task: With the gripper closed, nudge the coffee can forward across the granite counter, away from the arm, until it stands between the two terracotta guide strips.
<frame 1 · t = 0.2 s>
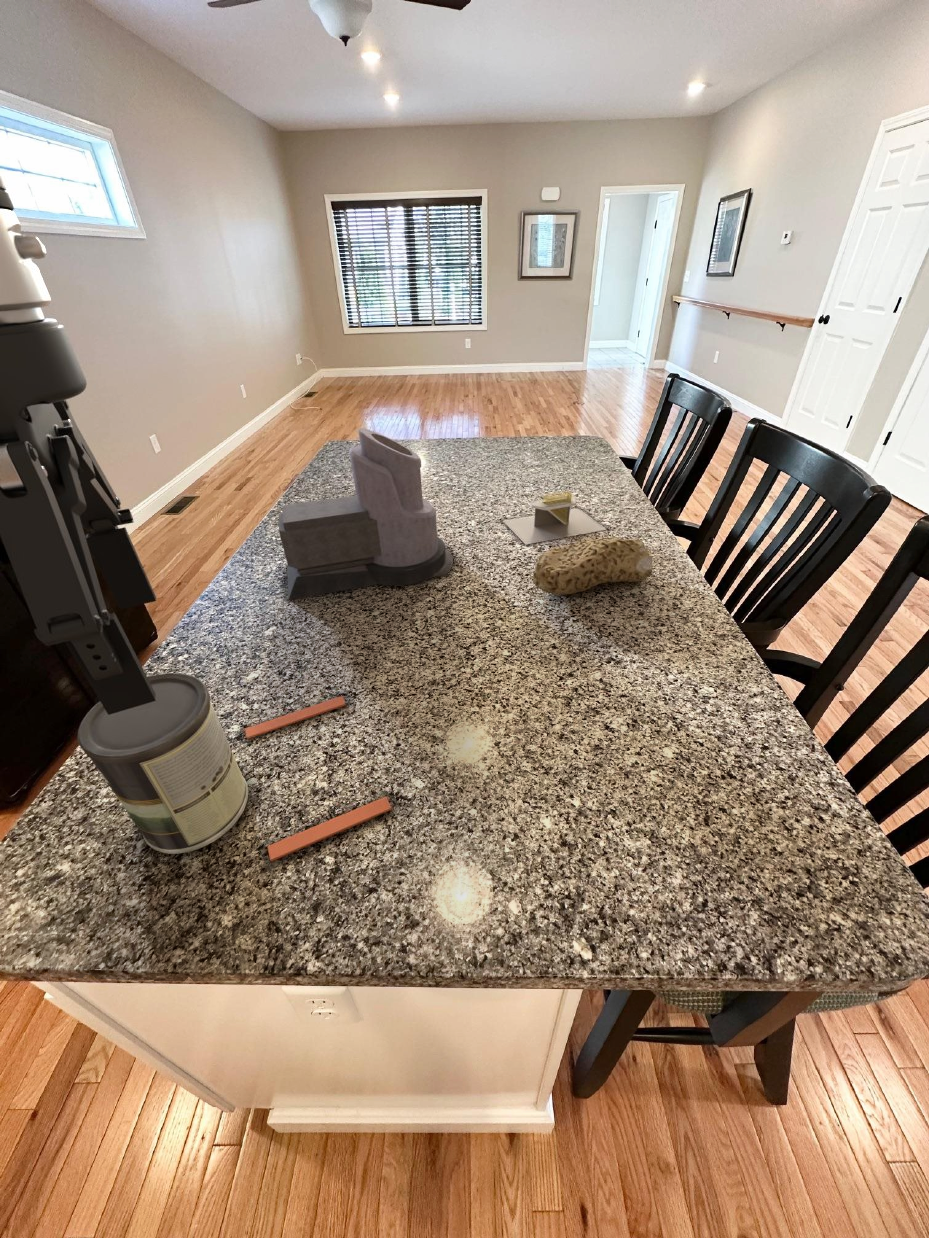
hand: (136, 647, 38), 23 cm above the countertop, tool pointing down, fingers open, 13 cm apart
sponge: (588, 583, 88), on the countertop
coffee can: (198, 809, 53), on the countertop
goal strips: (312, 766, 57), on the countertop
machine: (372, 569, 94), on the countertop
platform: (553, 526, 107), on the countertop
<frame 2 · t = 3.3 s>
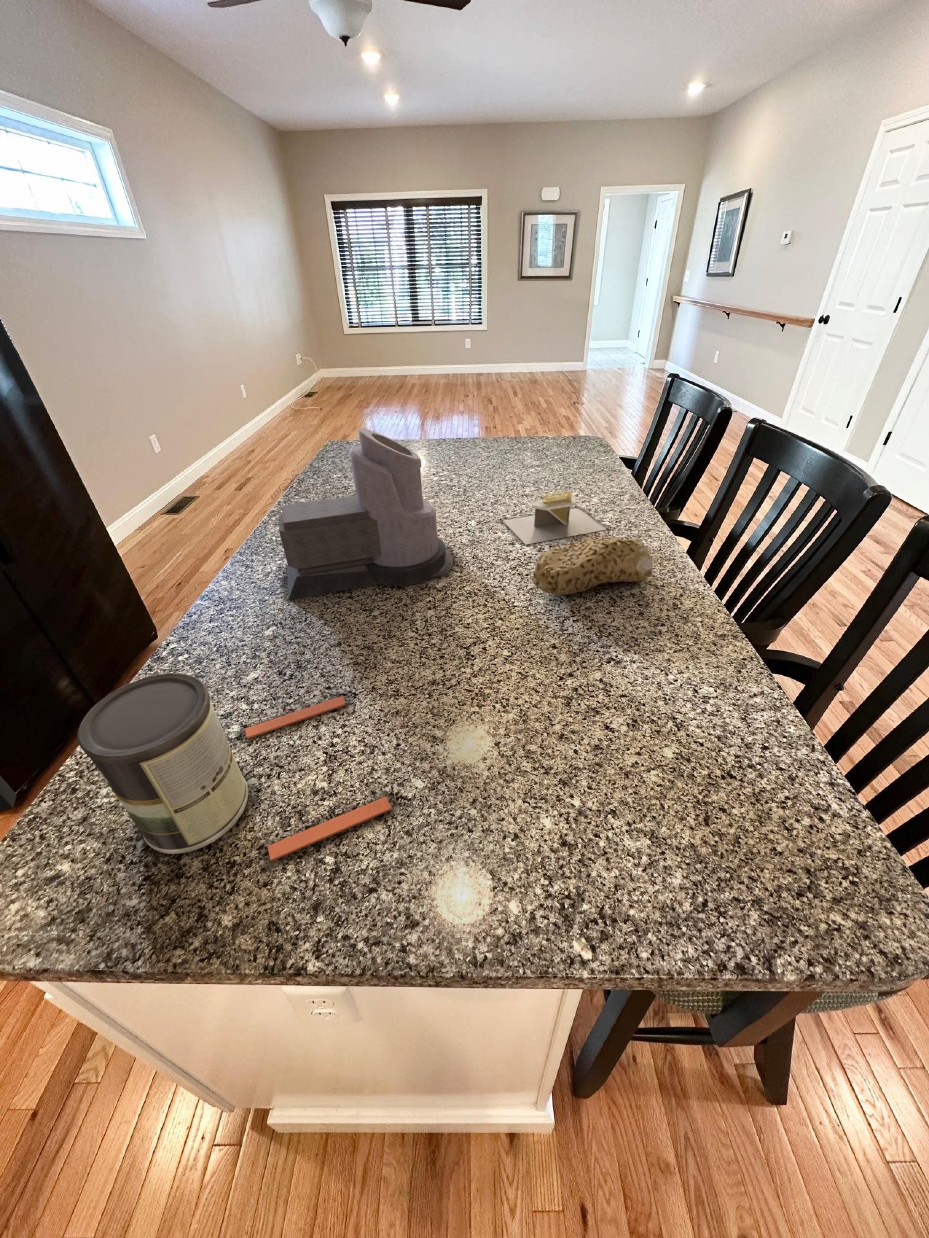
nothing on the countertop moved.
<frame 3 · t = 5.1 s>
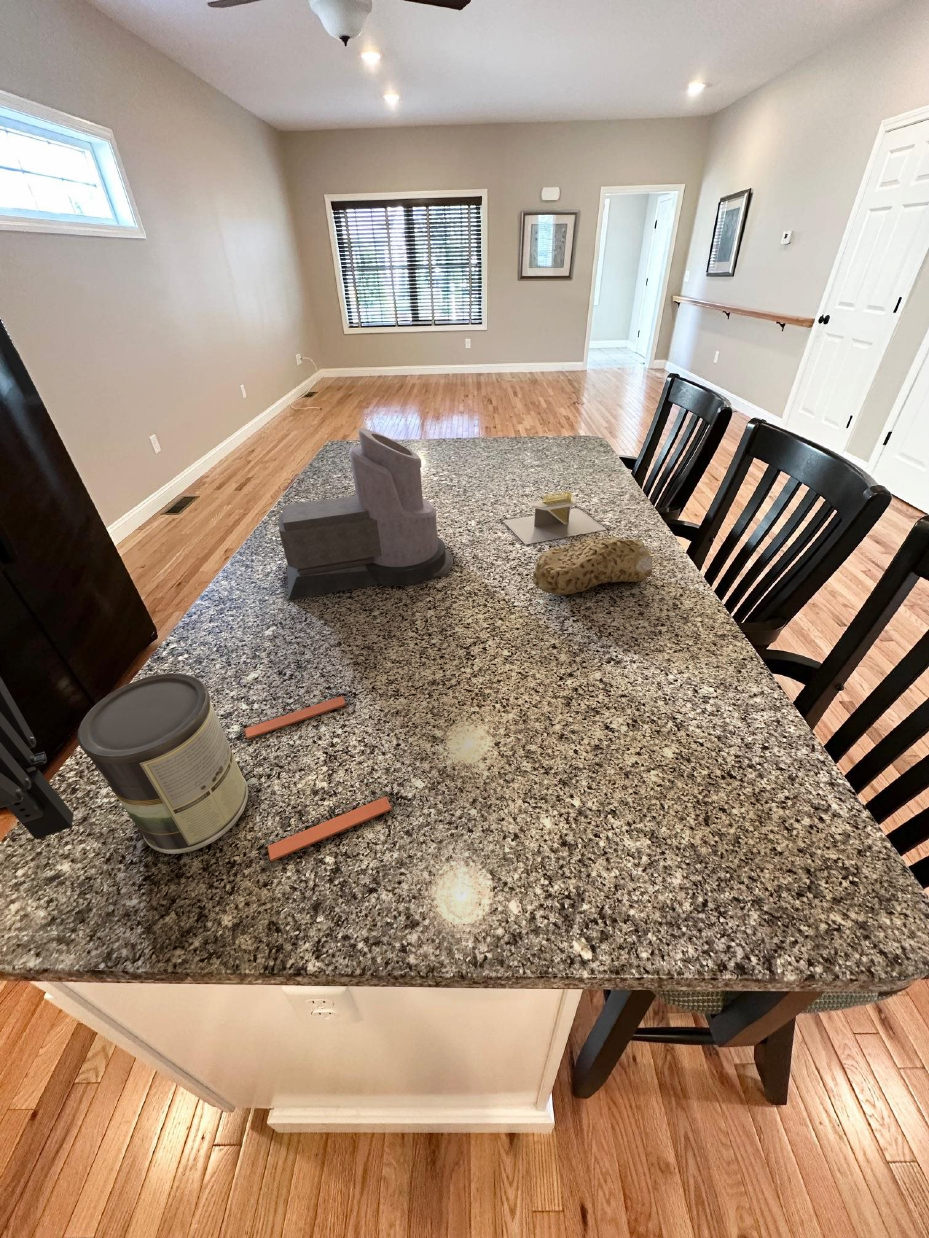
hand: (55, 826, 47), 5 cm above the countertop, tool pointing down, fingers closed
nothing on the countertop moved.
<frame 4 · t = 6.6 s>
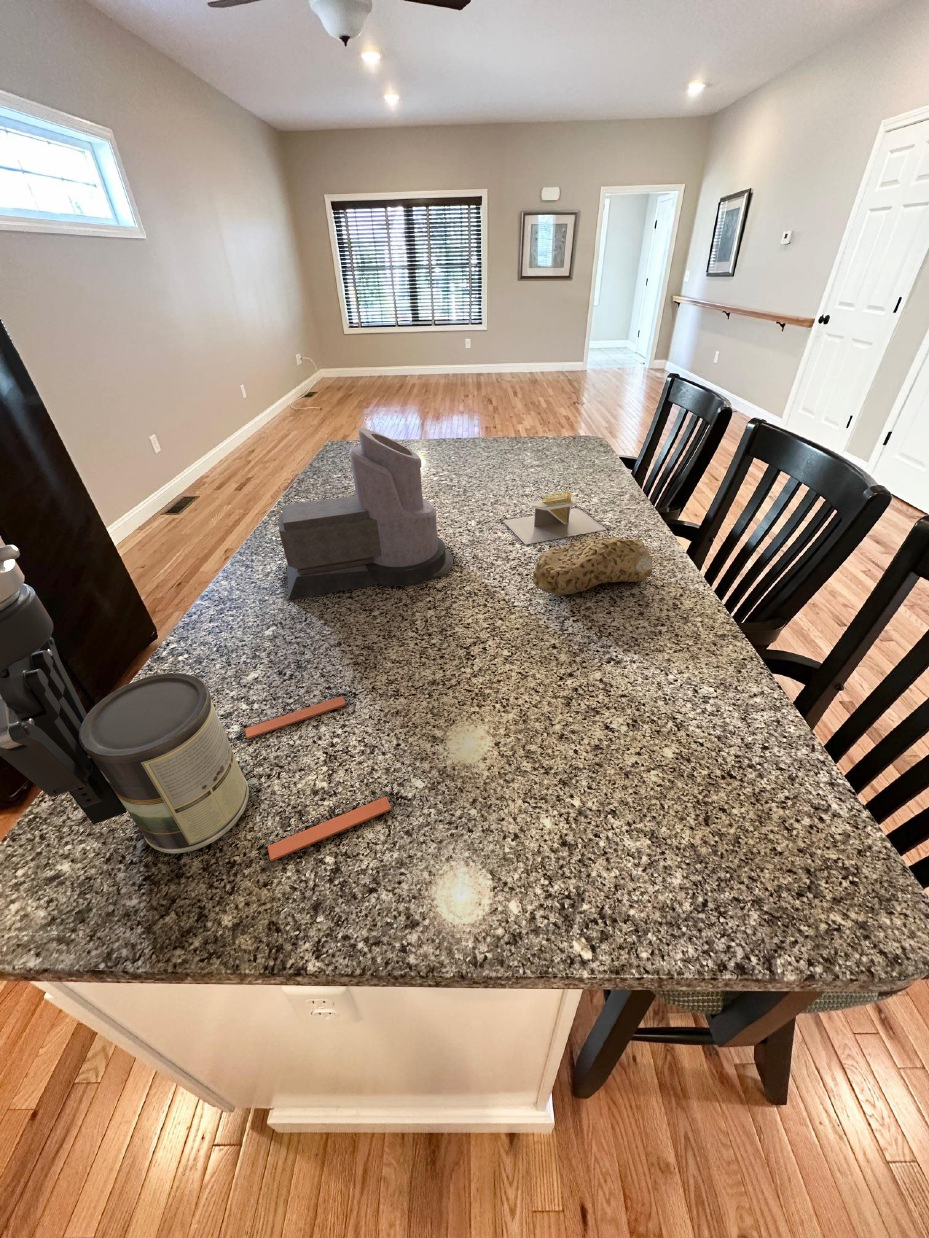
hand: (110, 812, 48), 4 cm above the countertop, tool pointing down, fingers closed
coffee can: (198, 809, 53), on the countertop, touching gripper
everything else where it was.
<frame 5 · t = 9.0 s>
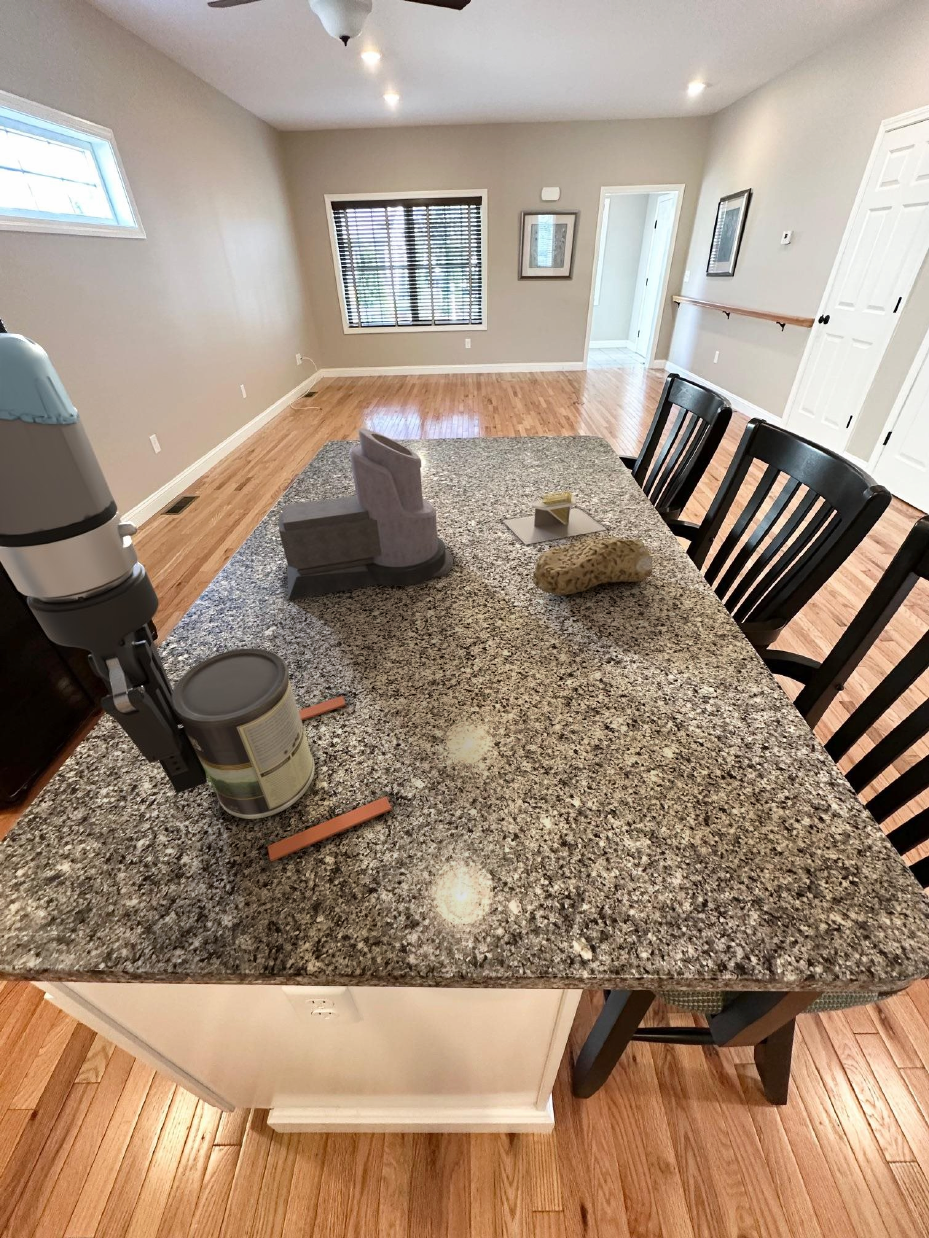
hand: (191, 782, 51), 4 cm above the countertop, tool pointing down, fingers closed
coffee can: (268, 779, 56), on the countertop, touching gripper
everything else where it was.
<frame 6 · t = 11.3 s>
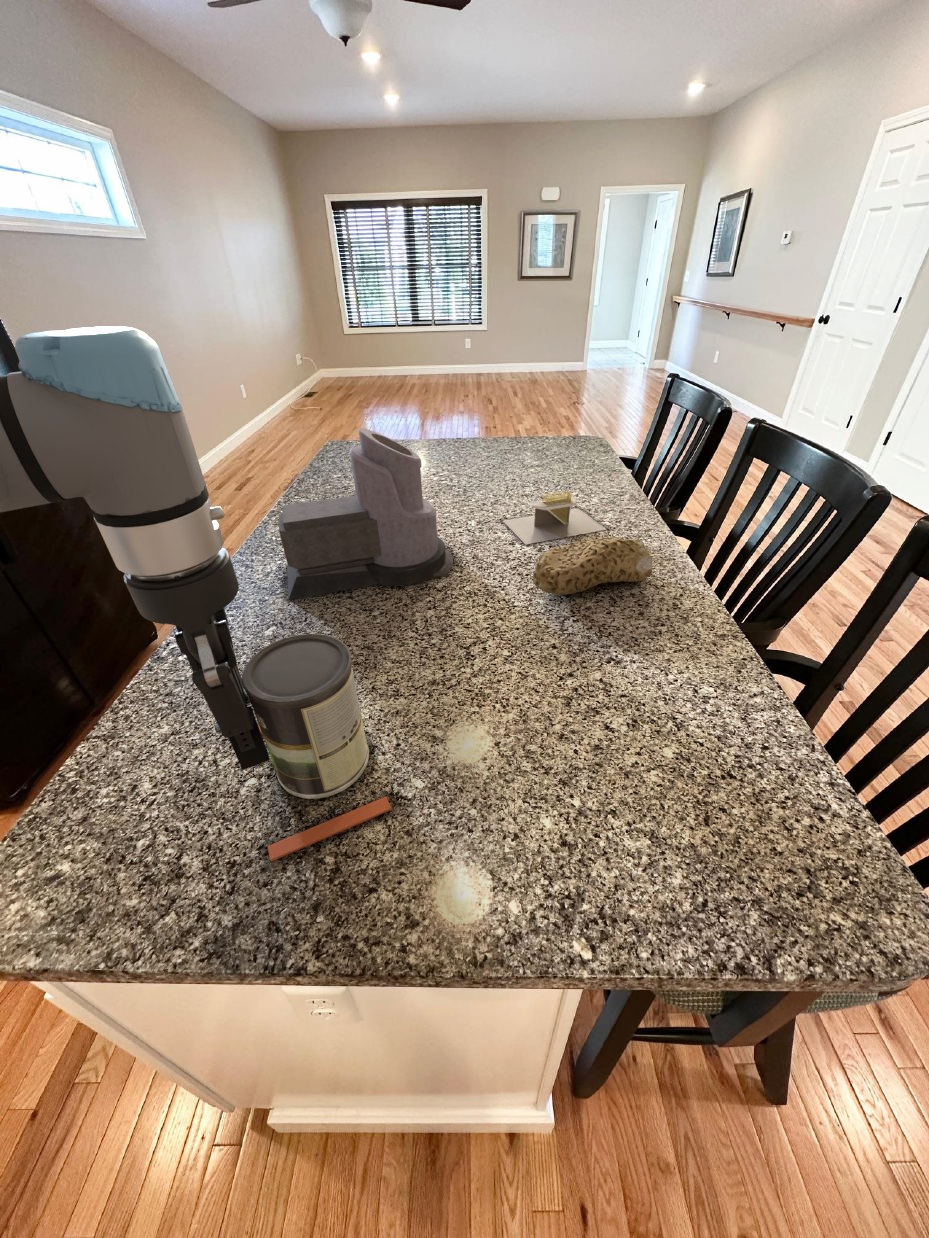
hand: (254, 759, 53), 4 cm above the countertop, tool pointing down, fingers closed
coffee can: (324, 761, 58), on the countertop, touching gripper
everything else where it was.
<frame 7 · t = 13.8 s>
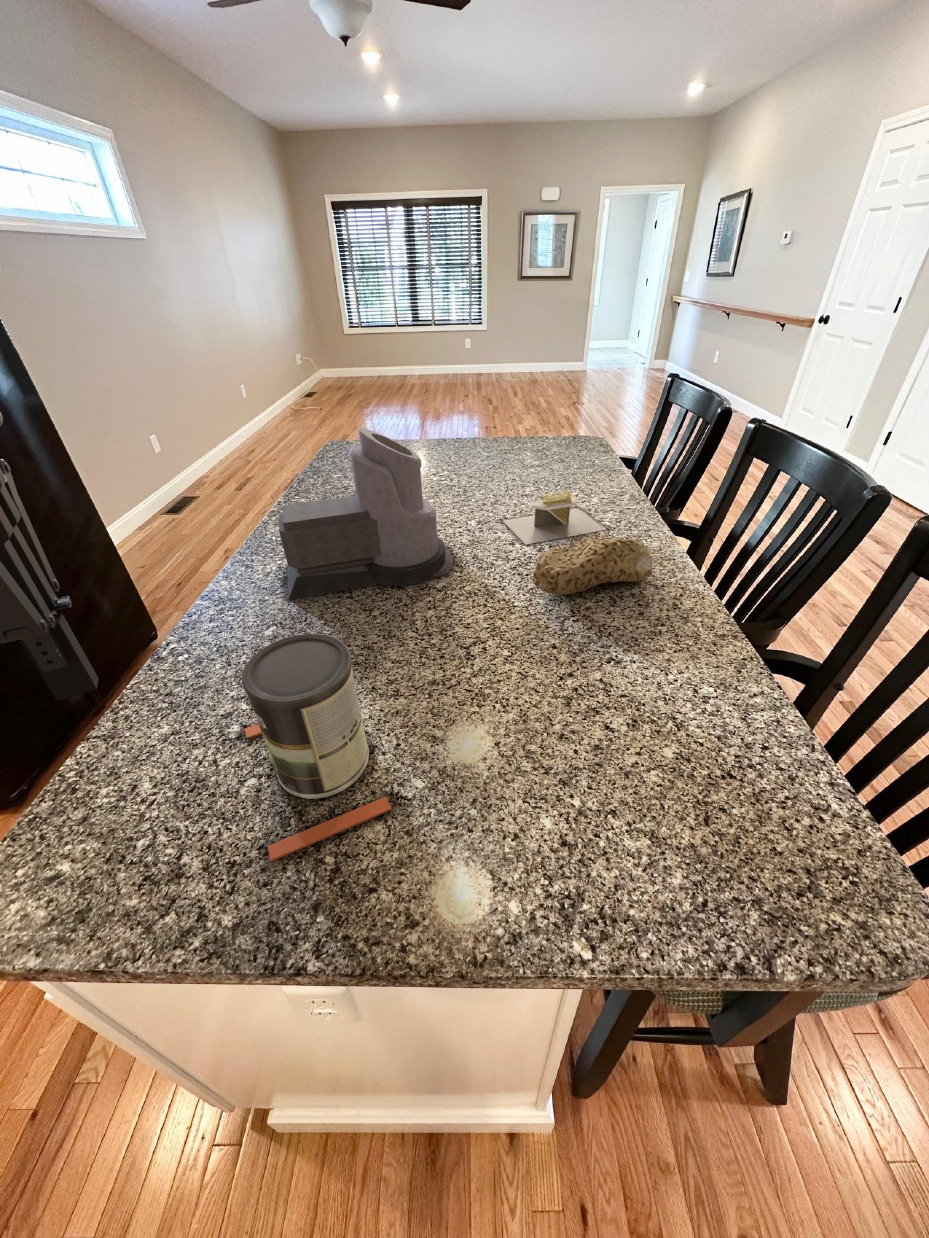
hand: (78, 688, 41), 19 cm above the countertop, tool pointing down, fingers closed
coffee can: (324, 761, 58), on the countertop
everything else where it was.
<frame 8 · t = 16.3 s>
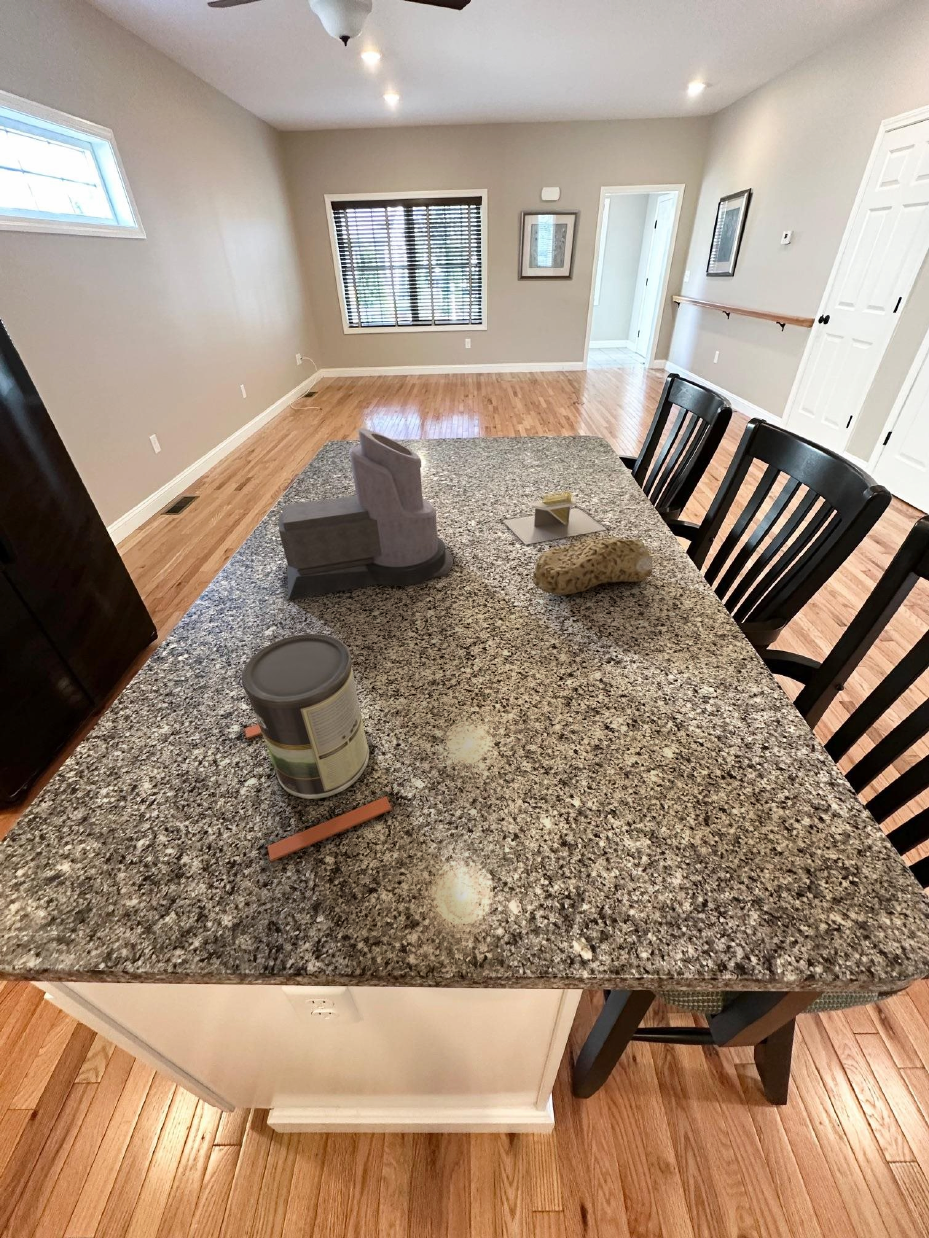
nothing on the countertop moved.
at the end: coffee can inside the target area (0.9 cm from its centre), on the countertop; coffee can tilted 0°; the gripper is holding nothing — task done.
